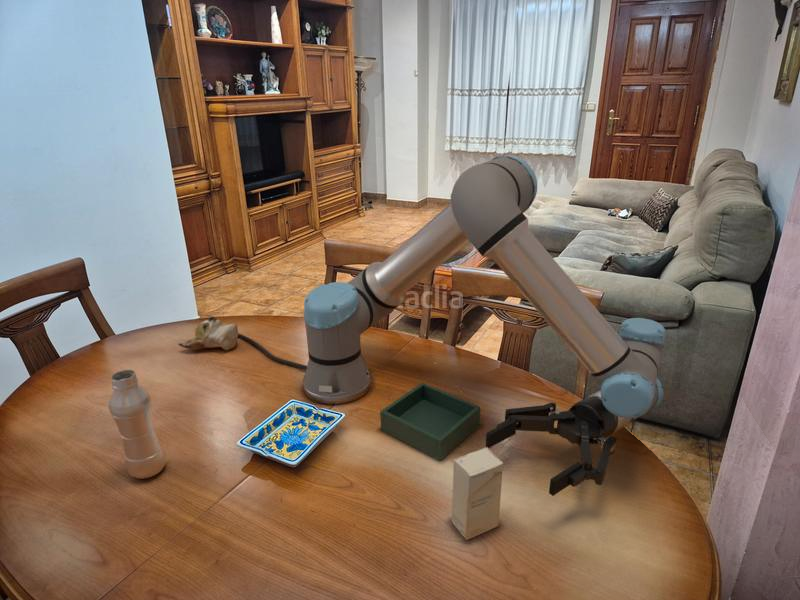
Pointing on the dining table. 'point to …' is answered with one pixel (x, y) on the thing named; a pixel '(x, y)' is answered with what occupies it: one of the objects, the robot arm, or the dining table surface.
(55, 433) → the dining table surface
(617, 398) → the robot arm
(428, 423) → the tote
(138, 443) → the plastic bottle
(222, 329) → the ceramic sculpture
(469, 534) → the cosmetic box
